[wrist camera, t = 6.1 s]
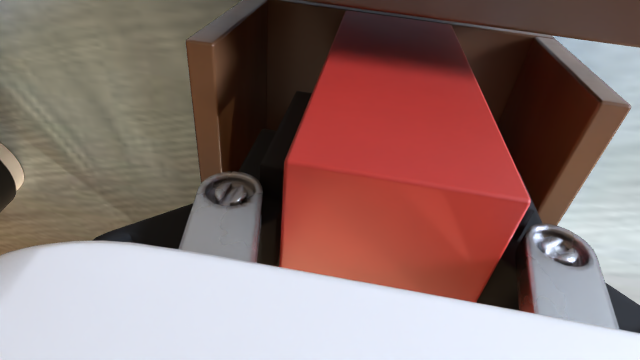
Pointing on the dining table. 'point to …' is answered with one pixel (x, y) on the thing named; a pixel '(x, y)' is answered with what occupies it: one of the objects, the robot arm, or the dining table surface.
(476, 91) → the red rectangular block
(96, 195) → the dining table surface
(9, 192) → the dixie cup
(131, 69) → the dining table surface
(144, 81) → the dining table surface
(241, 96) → the drawer
